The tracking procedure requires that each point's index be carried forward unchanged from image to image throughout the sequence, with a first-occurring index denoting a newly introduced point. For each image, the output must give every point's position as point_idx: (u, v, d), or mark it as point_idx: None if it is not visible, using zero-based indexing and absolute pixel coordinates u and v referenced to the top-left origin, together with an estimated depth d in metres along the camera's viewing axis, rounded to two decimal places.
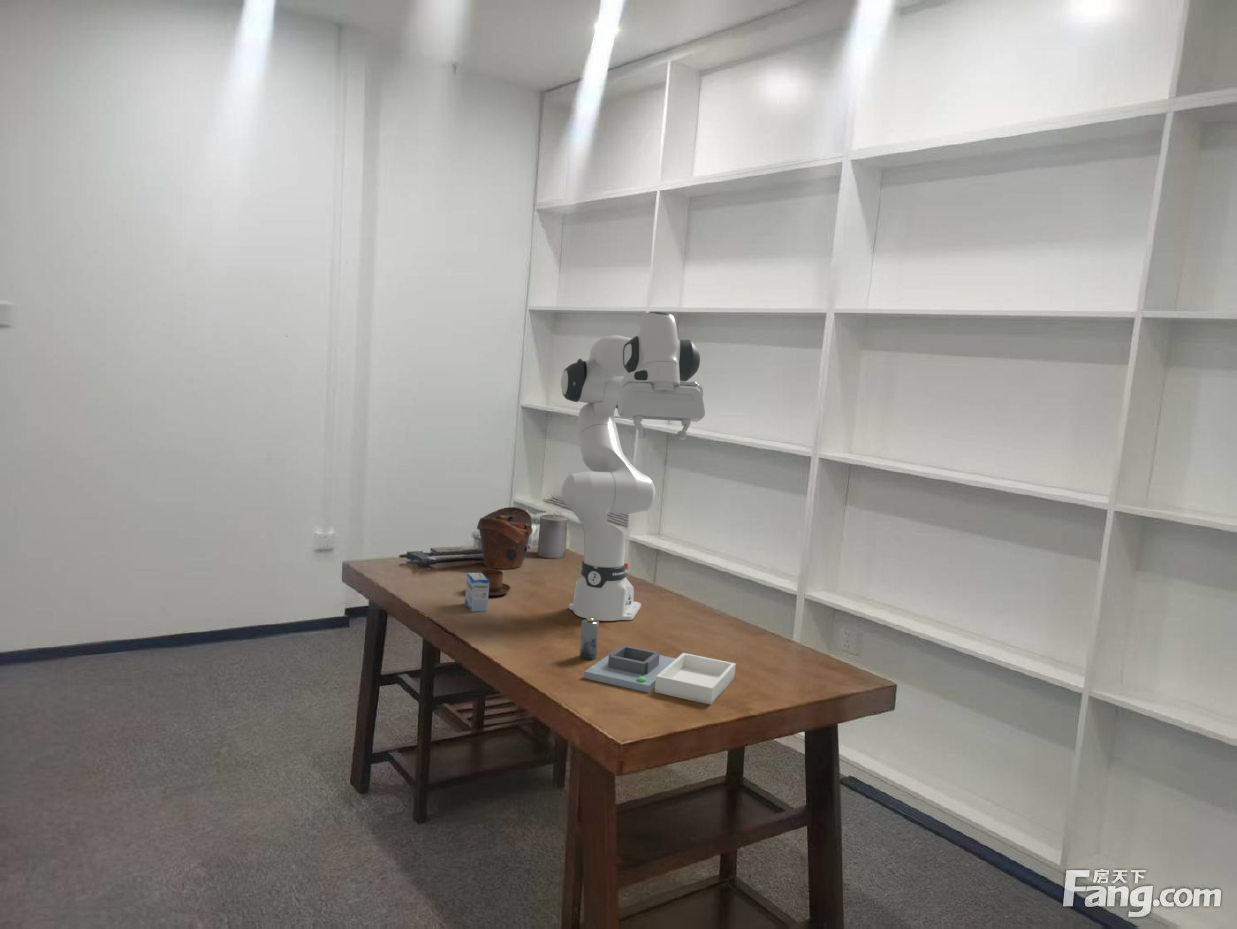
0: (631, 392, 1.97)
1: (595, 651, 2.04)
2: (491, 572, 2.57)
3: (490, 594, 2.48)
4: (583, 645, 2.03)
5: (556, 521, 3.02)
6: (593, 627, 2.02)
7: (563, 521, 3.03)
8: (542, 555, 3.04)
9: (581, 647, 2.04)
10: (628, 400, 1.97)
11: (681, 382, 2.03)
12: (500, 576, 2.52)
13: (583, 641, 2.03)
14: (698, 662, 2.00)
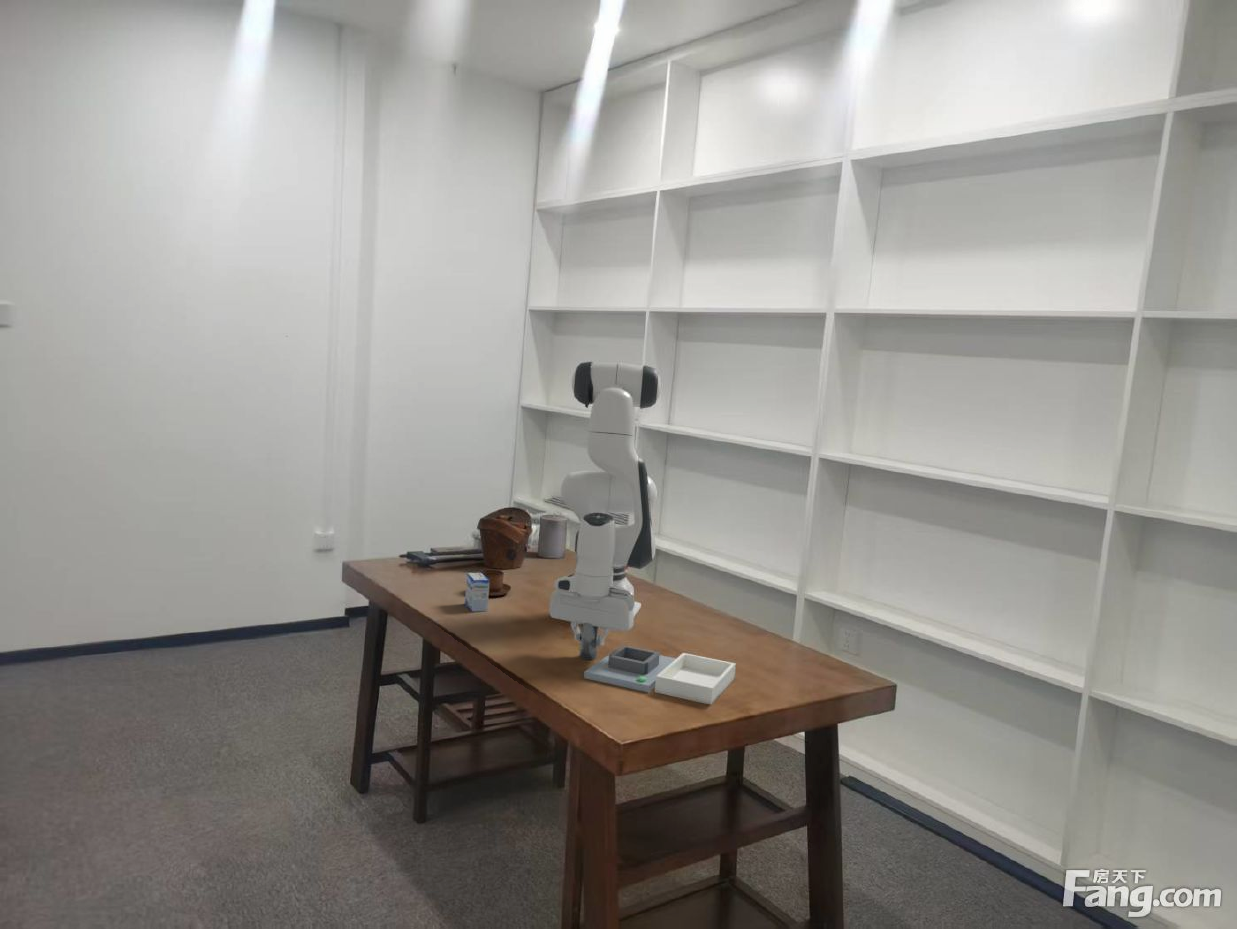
0: (558, 598, 2.05)
1: (595, 651, 2.04)
2: (492, 572, 2.57)
3: (491, 594, 2.48)
4: (583, 645, 2.03)
5: (556, 521, 3.02)
6: (593, 627, 2.02)
7: (563, 521, 3.03)
8: (542, 555, 3.04)
9: (581, 647, 2.04)
10: (554, 605, 2.05)
11: (611, 590, 2.01)
12: (501, 576, 2.52)
13: (583, 641, 2.03)
14: (698, 662, 2.00)
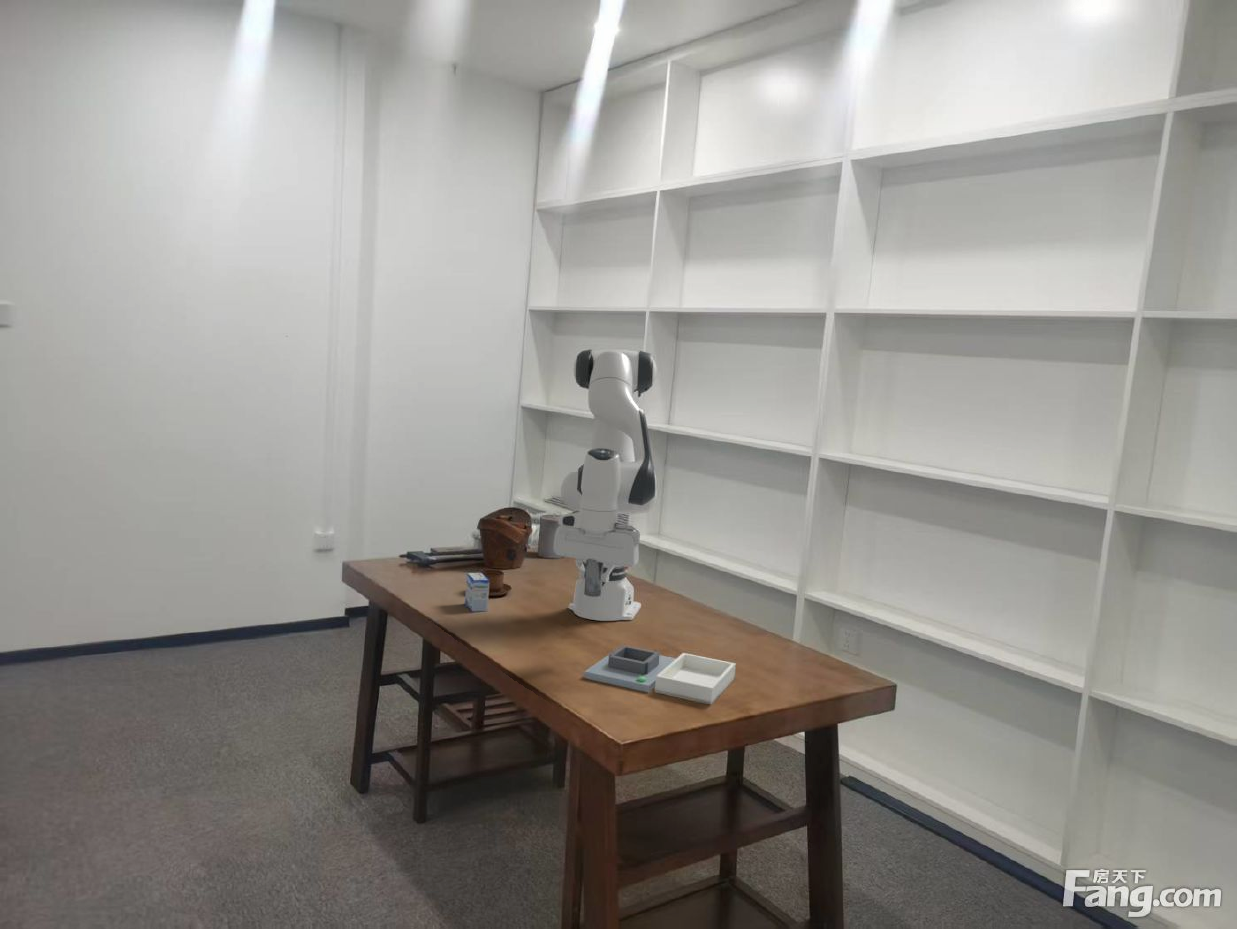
0: (562, 535, 2.03)
1: (600, 588, 2.02)
2: (492, 572, 2.57)
3: (491, 594, 2.48)
4: (587, 582, 2.02)
5: (556, 521, 3.02)
6: (598, 564, 2.01)
7: None
8: (542, 555, 3.04)
9: (586, 584, 2.02)
10: (559, 542, 2.04)
11: (616, 526, 1.99)
12: (501, 576, 2.52)
13: (587, 577, 2.01)
14: (698, 662, 2.00)
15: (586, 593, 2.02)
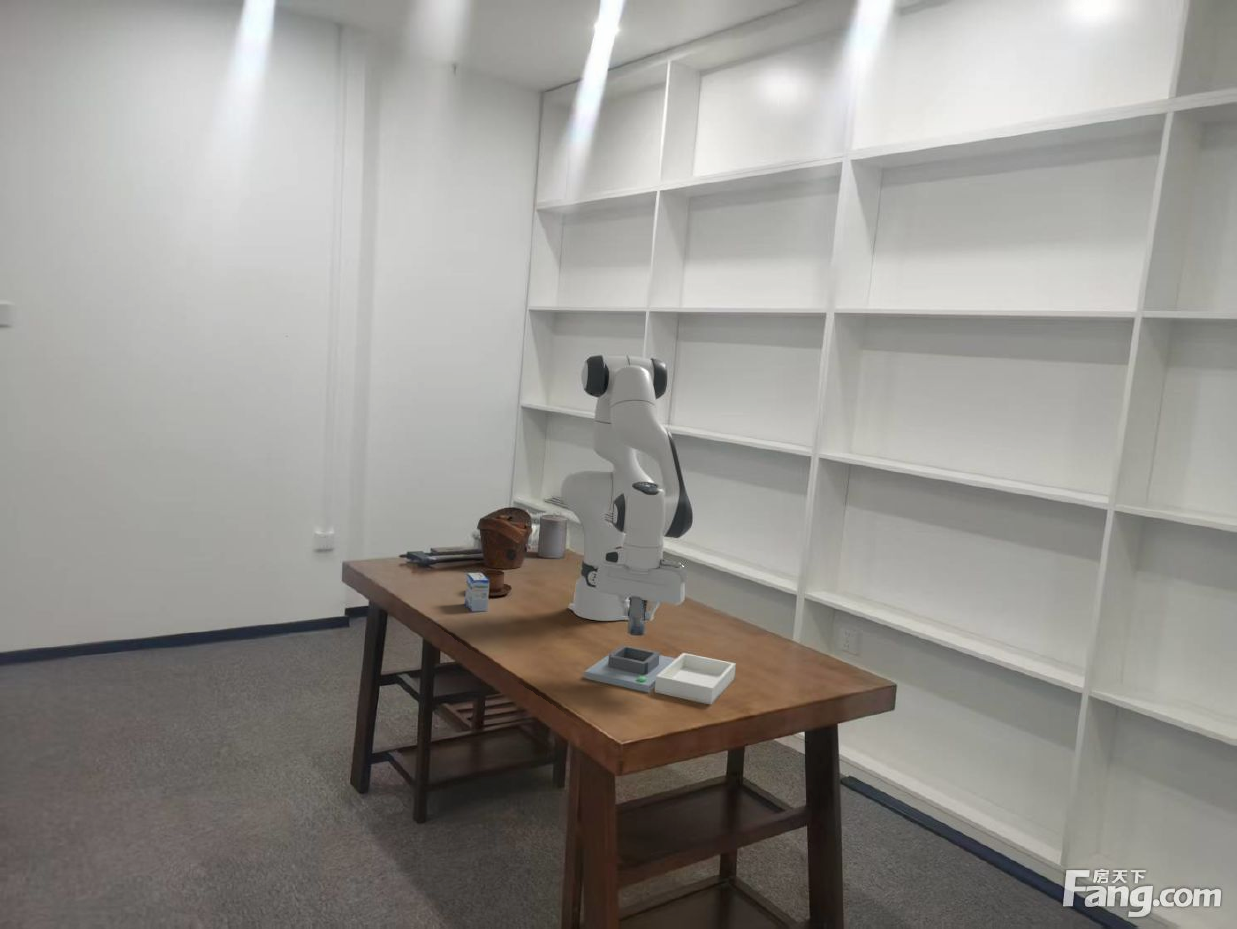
0: (605, 571, 1.96)
1: (644, 626, 1.95)
2: (492, 572, 2.57)
3: (491, 594, 2.48)
4: (631, 620, 1.94)
5: (556, 521, 3.02)
6: (642, 601, 1.94)
7: (563, 521, 3.03)
8: (542, 555, 3.04)
9: (629, 622, 1.95)
10: (601, 579, 1.97)
11: (662, 562, 1.92)
12: (501, 576, 2.51)
13: (631, 615, 1.94)
14: (698, 662, 2.00)
15: (630, 632, 1.95)
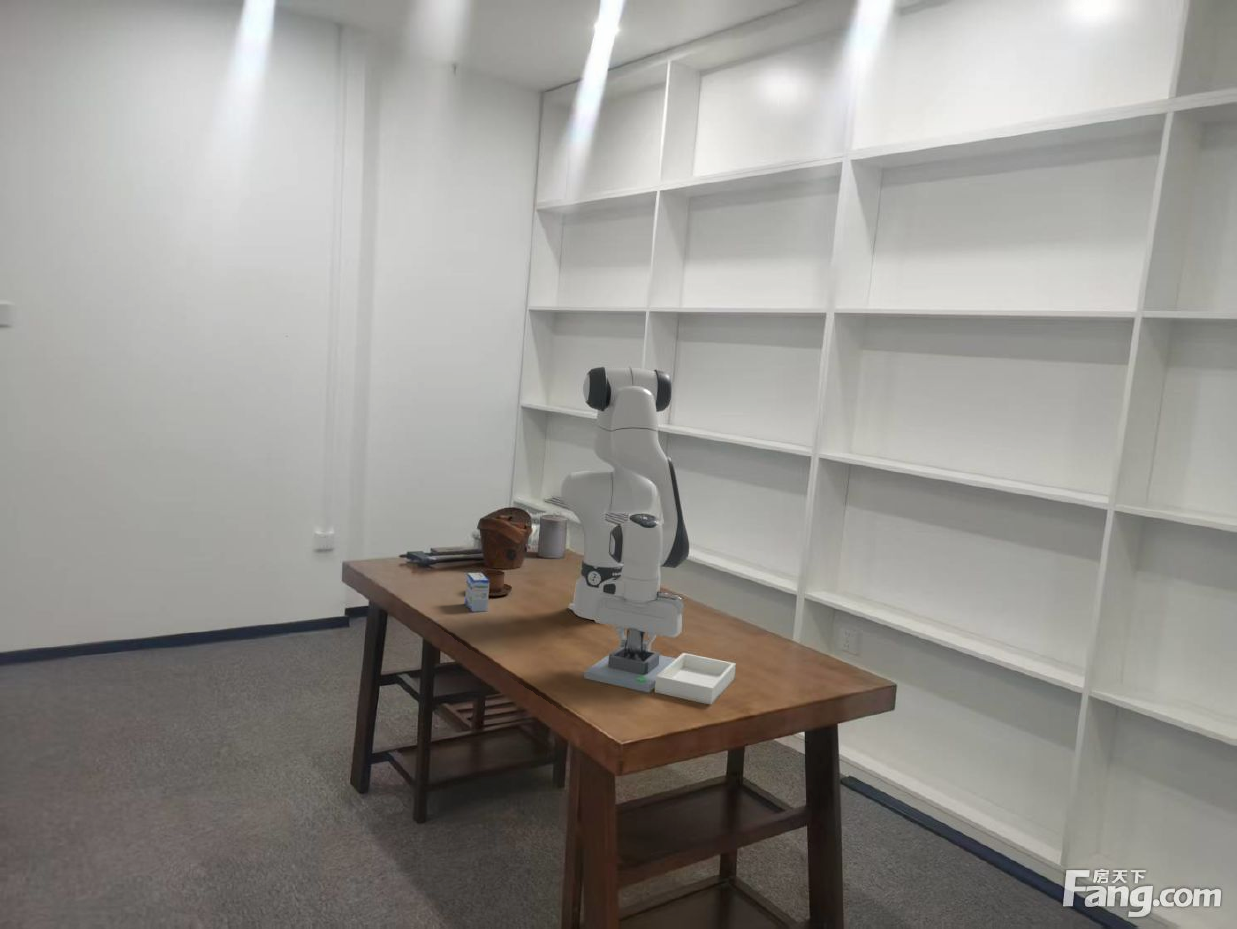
0: (603, 602, 1.97)
1: (641, 657, 1.96)
2: (493, 572, 2.57)
3: (492, 594, 2.48)
4: (629, 651, 1.95)
5: (556, 521, 3.02)
6: (640, 633, 1.95)
7: (563, 521, 3.03)
8: (542, 555, 3.04)
9: (627, 653, 1.96)
10: (599, 610, 1.98)
11: (659, 595, 1.93)
12: (502, 576, 2.51)
13: (628, 647, 1.95)
14: (698, 662, 2.00)
15: None
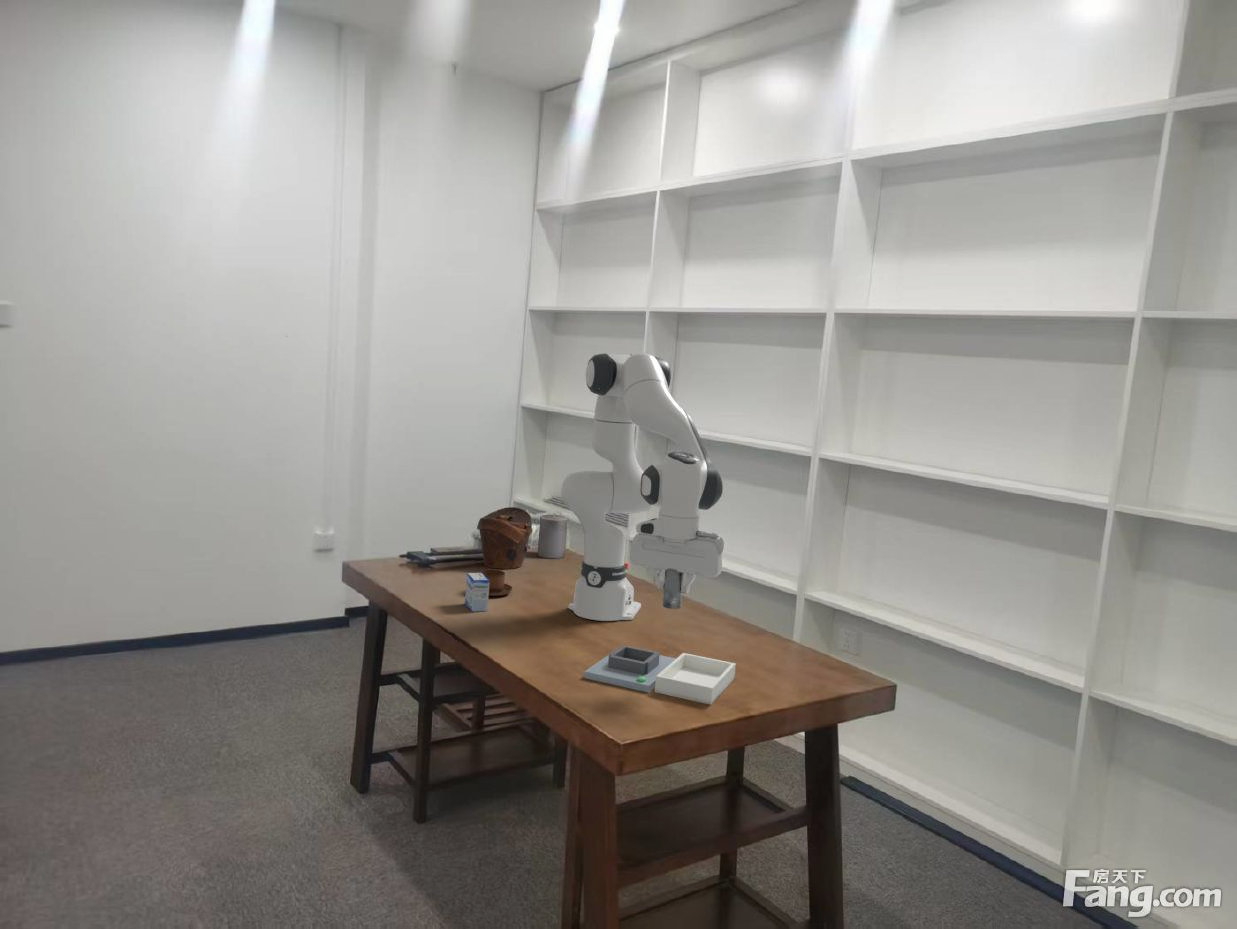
0: (640, 543, 1.92)
1: (680, 599, 1.91)
2: (493, 572, 2.57)
3: (492, 594, 2.48)
4: (667, 593, 1.90)
5: (556, 521, 3.02)
6: (678, 574, 1.89)
7: (563, 521, 3.03)
8: (542, 555, 3.04)
9: (665, 595, 1.91)
10: (636, 551, 1.93)
11: (698, 534, 1.88)
12: (502, 576, 2.51)
13: (667, 588, 1.90)
14: (698, 662, 2.00)
15: (665, 605, 1.91)
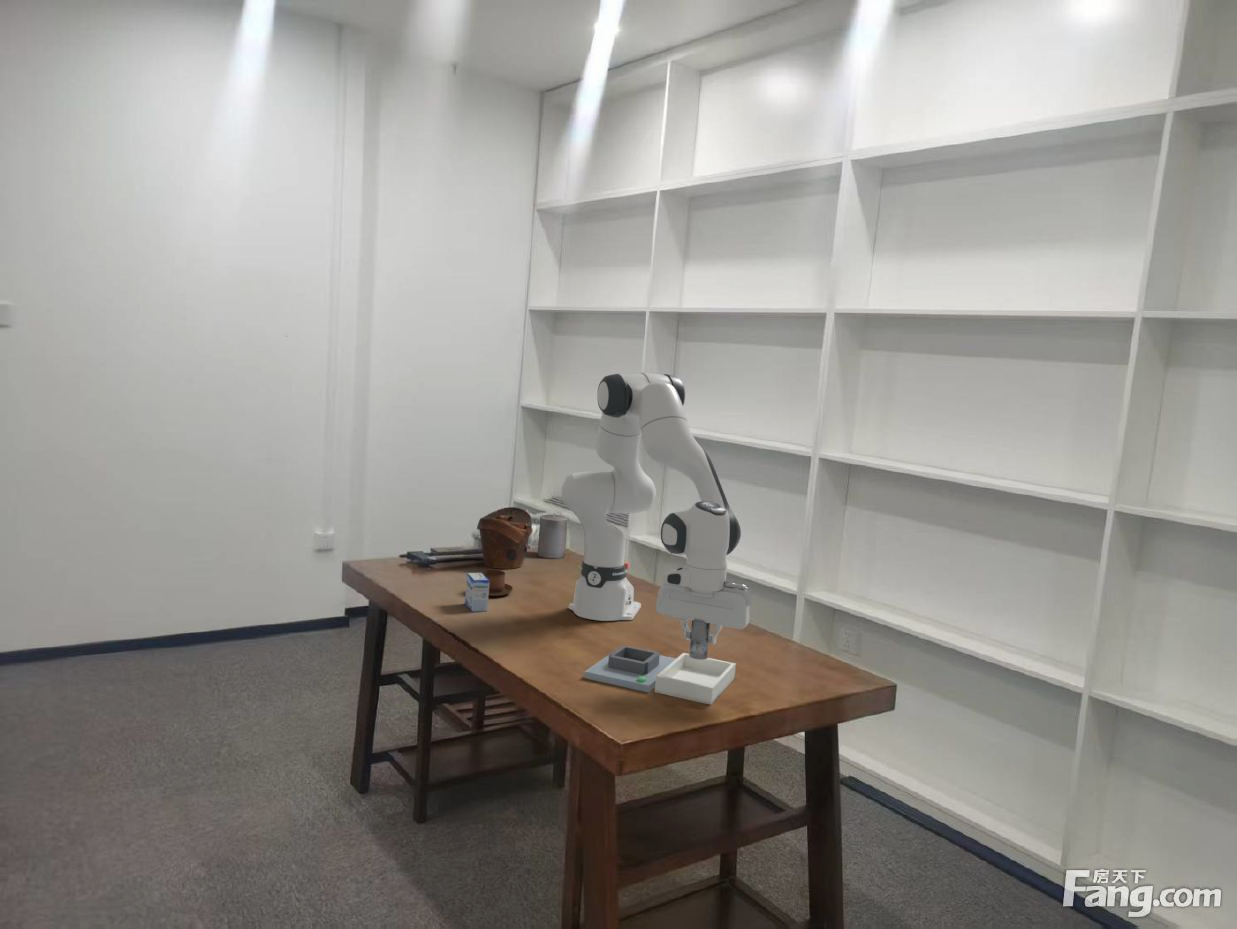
0: (666, 593, 1.91)
1: (707, 650, 1.90)
2: (493, 572, 2.57)
3: (492, 594, 2.48)
4: (694, 644, 1.89)
5: (556, 521, 3.02)
6: (705, 624, 1.88)
7: (563, 521, 3.03)
8: (542, 555, 3.04)
9: (692, 646, 1.90)
10: (662, 601, 1.91)
11: (726, 585, 1.87)
12: (502, 576, 2.51)
13: (694, 639, 1.89)
14: (698, 662, 2.00)
15: (692, 656, 1.90)
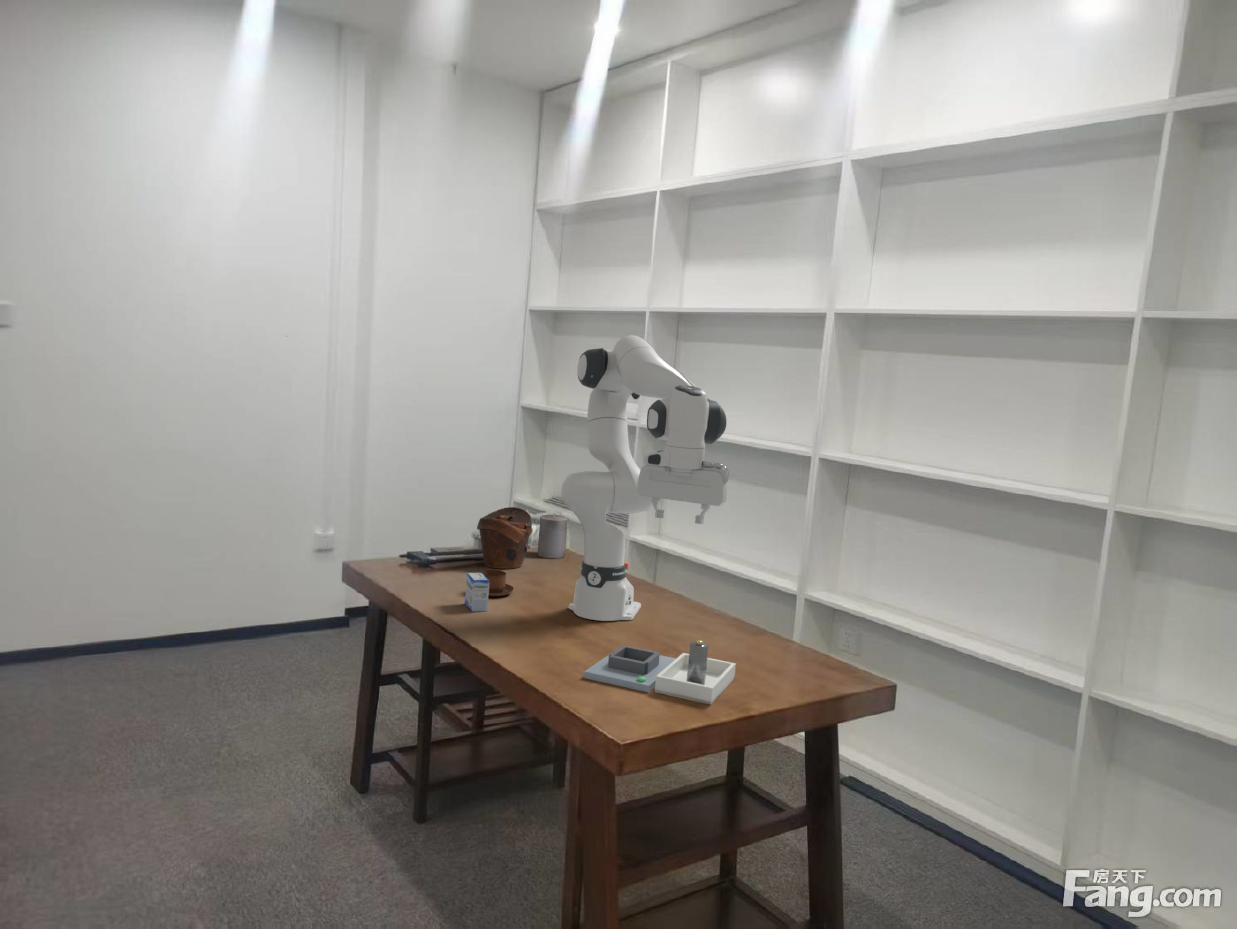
0: (647, 474, 1.98)
1: (704, 676, 1.91)
2: (494, 573, 2.56)
3: (493, 595, 2.48)
4: (691, 670, 1.90)
5: (556, 521, 3.02)
6: (703, 651, 1.89)
7: (563, 521, 3.03)
8: (542, 555, 3.04)
9: (689, 672, 1.91)
10: (643, 482, 1.99)
11: (704, 464, 1.94)
12: (503, 577, 2.51)
13: (691, 665, 1.90)
14: None
15: None
